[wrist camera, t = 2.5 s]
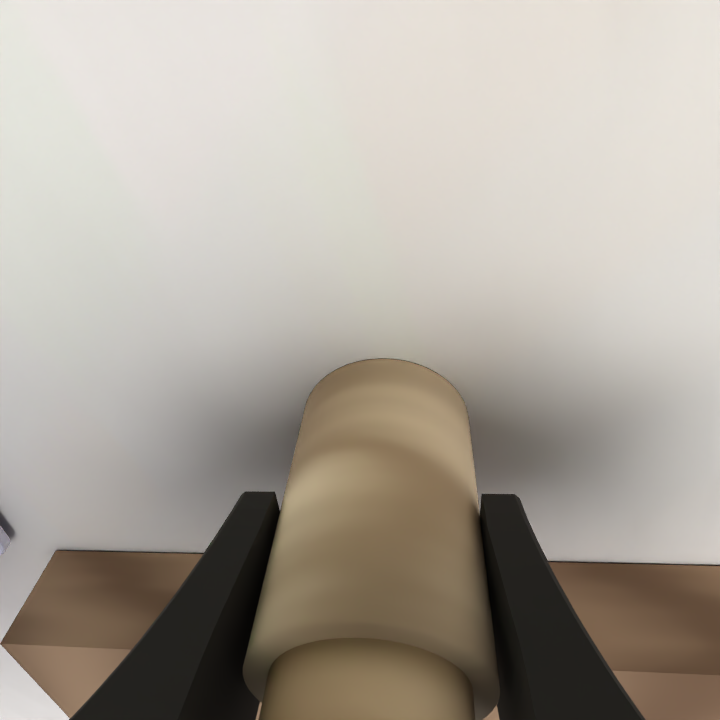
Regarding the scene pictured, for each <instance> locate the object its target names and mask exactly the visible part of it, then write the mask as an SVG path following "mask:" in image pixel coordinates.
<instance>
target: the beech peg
mask: <svg viewBox="0 0 720 720" xmlns="http://www.w3.org/2000/svg"><path fill="white" fill-rule="evenodd" d="M243 678H244V681H245V684H246V685H247V687H248V689H249V690H250V692H251V693H252V694H253V695H254V696H255V697H256V698H257V699H258V700H259V701H260V702H261V703H262V706H261V710H260V715H259V720H482V719H484V718H485V717H487V716H488V715H489V714H490V713H491V712H492V711H493V709H494V708H495V706H496V705H497V703H498V700H499V697H500V684H499V676H498V667H497V658H496V650H495V641H494V633H493V624H492V615H491V607H490V598H489V590H488V581H487V572H486V565H485V557H484V549H483V540H482V531H481V523H480V512H479V504H478V495H477V486H476V478H475V469H474V461H473V452H472V443H471V435H470V426H469V418H468V412H467V408H466V406H465V403H464V401H463V399H462V397H461V396H460V394H459V393H458V391H457V390H456V389H455V388H454V387H453V386H452V385H451V384H450V383H449V382H448V381H447V380H446V379H445V378H443V377H442V376H440V375H439V374H437V373H436V372H434V371H432V370H430V369H428V368H426V367H423V366H420V365H418V364H415V363H411V362H407V361H402V360H395V359H370V360H364V361H358V362H355V363H352V364H348V365H346V366H343V367H341V368H339V369H337V370H335V371H333V372H332V373H330V374H328V375H327V376H326V377H325V378H323V379H322V380H321V381H320V382H319V383H318V384H317V385H316V386H315V388H314V389H313V390H312V392H311V393H310V395H309V398H308V400H307V402H306V406H305V410H304V414H303V418H302V422H301V427H300V431H299V435H298V439H297V443H296V448H295V452H294V456H293V460H292V464H291V468H290V473H289V477H288V481H287V485H286V489H285V493H284V498H283V502H282V506H281V510H280V514H279V519H278V523H277V527H276V531H275V535H274V539H273V544H272V548H271V552H270V556H269V560H268V564H267V569H266V573H265V577H264V581H263V585H262V590H261V594H260V598H259V602H258V606H257V610H256V615H255V619H254V623H253V627H252V631H251V635H250V640H249V644H248V648H247V652H246V656H245V660H244V665H243Z"/></svg>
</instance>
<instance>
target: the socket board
mask: <svg viewBox="0 0 720 720" xmlns="http://www.w3.org/2000/svg"><path fill="white" fill-rule="evenodd" d="M202 555H203V554H180V553H137V552H94V551H55V553H54V555H53V556H52V558H51V560H50V561H49V563H48V565H47V566H46V568H45V570H44V571H43V573H42V575H41V576H40V578H39V580H38V581H37V583H36V585H35V586H34V588H33V590H32V591H31V593H30V595H29V596H28V598H27V600H26V601H25V603H24V605H23V606H22V608H21V610H20V611H19V613H18V615H17V617H16V618H15V620H14V622H13V623H12V625H11V627H10V628H9V630H8V632H7V633H6V635H5V637H4V638H3V640H2V642H1V643H0V644H1V645H2V646H3V647H4V648H5V649H6V651H7V652H8V653H9V654H10V655H11V656H12V657H13V658H14V659H15V660H16V661H17V662H18V663H19V664H20V666H21V667H22V668H23V669H24V670H25V671H26V672H27V673H28V674H29V675H30V676H31V677H32V678H33V679H34V680H35V682H36V683H37V684H38V685H39V686H40V687H41V688H42V689H43V690H44V691H45V692H46V693H47V694H48V695H49V696H50V698H51V699H52V700H53V701H54V702H55V703H56V704H57V705H58V706H59V707H60V708H61V709H62V710H63V711H64V713H65V714H66V715H67V716H68V717H69V718H71V717H72V716H73V715H74V714H75V713H76V712H77V711H78V710H79V709H80V708H81V707H82V705H83V704H84V703H85V702H86V701H87V700H88V699H89V698H90V697H91V696H92V695H93V694H94V693H95V691H96V690H97V689H98V688H99V687H100V686H101V685H102V684H103V682H104V681H105V680H106V679H107V678H108V677H109V676H110V674H111V673H112V672H113V671H114V670H115V669H116V668H117V666H118V665H119V664H120V663H121V662H122V661H123V659H124V658H125V657H126V656H127V655H128V653H129V652H130V651H131V650H132V649H133V647H134V646H135V645H136V644H137V643H138V641H139V640H140V639H141V638H142V636H143V635H144V634H145V632H146V631H147V630H148V629H149V627H150V626H151V625H152V623H153V622H154V621H155V620H156V618H157V617H158V616H159V614H160V613H161V612H162V611H163V609H164V608H165V607H166V605H167V604H168V603H169V601H170V600H171V599H172V598H173V596H174V595H175V593H176V592H177V591H178V589H179V588H180V587H181V585H182V584H183V582H184V581H185V579H186V578H187V577H188V575H189V574H190V572H191V571H192V570H193V568H194V567H195V565H196V564H197V562H198V561H199V560H200V558H201V557H202ZM548 563H549V565H550V567H551V569H552V571H553V572H554V574H555V576H556V578H557V580H558V582H559V583H560V585H561V587H562V589H563V591H564V592H565V594H566V596H567V598H568V599H569V601H570V603H571V605H572V607H573V608H574V610H575V612H576V614H577V615H578V617H579V619H580V620H581V622H582V624H583V625H584V627H585V629H586V630H587V632H588V634H589V635H590V637H591V638H592V640H593V642H594V643H595V645H596V646H597V648H598V650H599V651H600V653H601V654H602V656H603V658H604V659H605V661H606V662H607V664H608V665H609V667H610V668H611V670H612V671H613V673H614V674H615V676H616V678H617V679H618V681H619V682H620V684H621V685H622V686H623V688H624V689H625V691H626V692H627V694H628V695H629V697H630V698H631V700H632V701H633V702H634V704H635V705H636V707H637V708H638V710H639V711H640V712H641V714H642V715H643V717H644V718H645V719H646V720H720V566H695V565H652V564H609V563H566V562H548ZM261 706H262V703H261V702H260V704H259V708H258V712H257V716H256V720H259V715H260V710H261ZM482 720H499V714H498V708H497V705H496V706H495V708H494V709H493V711H492V712H491V713H490V714H489V715H488V716H487V717H485V718H484V719H482Z"/></svg>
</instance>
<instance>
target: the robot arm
mask: <svg viewBox="0 0 720 720" xmlns="http://www.w3.org/2000/svg"><path fill="white" fill-rule="evenodd" d="M279 514H280V510H279V506H278V502H277V498H276V494H275V492H244V493H243V494H242V495H241V496H240V498H239V500H238V501H237V503H236V504H235V506H234V508H233V509H232V511H231V512H230V514H229V516H228V517H227V519H226V520H225V522H224V524H223V525H222V527H221V528H220V530H219V531H218V533H217V534H216V536H215V537H214V539H213V540H212V542H211V543H210V545H209V546H208V548H207V549H206V551H205V552H204V554H203V555H202V557H201V558H200V560H199V561H198V562H197V564H196V565H195V567H194V568H193V570H192V571H191V572H190V574H189V575H188V577H187V578H186V579H185V581H184V582H183V584H182V585H181V587H180V588H179V589H178V591H177V592H176V593H175V595H174V596H173V598H172V599H171V600H170V601H169V603H168V604H167V605H166V607H165V608H164V609H163V611H162V612H161V613H160V614H159V616H158V617H157V618H156V620H155V621H154V622H153V623H152V625H151V626H150V627H149V629H148V630H147V631H146V632H145V634H144V635H143V636H142V638H141V639H140V640H139V641H138V643H137V644H136V645H135V646H134V647H133V649H132V650H131V651H130V652H129V653H128V655H127V656H126V657H125V658H124V659H123V661H122V662H121V663H120V664H119V665H118V666H117V668H116V669H115V670H114V671H113V672H112V673H111V674H110V676H109V677H108V678H107V679H106V680H105V681H104V682H103V684H102V685H101V686H100V687H99V688H98V689H97V690H96V691H95V693H94V694H93V695H92V696H91V697H90V698H89V699H88V700H87V701H86V702H85V703H84V704H83V705H82V707H81V708H80V709H79V710H78V711H77V712H76V713H75V714H74V715H73V716H72V717H71V718H70V719H69V720H256V716H257V712H258V708H259V704H260V701H259V700H258V699H257V698H256V697H255V696H254V695H253V694H252V693H251V692H250V690H249V689H248V687H247V685H246V684H245V681H244V678H243V665H244V660H245V656H246V652H247V648H248V644H249V640H250V635H251V631H252V627H253V623H254V619H255V615H256V610H257V606H258V602H259V598H260V594H261V590H262V585H263V581H264V577H265V573H266V569H267V564H268V560H269V556H270V552H271V548H272V544H273V539H274V535H275V531H276V527H277V523H278V519H279ZM480 523H481V531H482V540H483V549H484V557H485V565H486V572H487V581H488V590H489V598H490V607H491V615H492V624H493V633H494V641H495V650H496V658H497V667H498V676H499V684H500V697H499V700H498V703H497V708H498V714H499V720H646V719H645V718H644V717H643V715H642V714H641V712H640V711H639V710H638V708H637V707H636V705H635V704H634V702H633V701H632V700H631V698H630V697H629V695H628V694H627V692H626V691H625V689H624V688H623V686H622V685H621V684H620V682H619V681H618V679H617V678H616V676H615V674H614V673H613V671H612V670H611V668H610V667H609V665H608V664H607V662H606V661H605V659H604V658H603V656H602V654H601V653H600V651H599V650H598V648H597V646H596V645H595V643H594V642H593V640H592V638H591V637H590V635H589V634H588V632H587V630H586V629H585V627H584V625H583V624H582V622H581V620H580V619H579V617H578V615H577V614H576V612H575V610H574V608H573V607H572V605H571V603H570V601H569V599H568V598H567V596H566V594H565V592H564V591H563V589H562V587H561V585H560V583H559V582H558V580H557V578H556V576H555V574H554V572H553V571H552V569H551V567H550V565H549V563H548V561H547V559H546V557H545V555H544V553H543V551H542V549H541V547H540V545H539V543H538V541H537V539H536V536H535V534H534V532H533V530H532V528H531V525H530V523H529V521H528V519H527V516H526V514H525V511H524V509H523V506H522V504H521V501H520V498H518V497H517V496H516V495H515V494H482V497H481V509H480ZM10 542H11V541H10V539H9V537H8V535H7V534H6V533H5V531H4V530H3V529H2V527H1V526H0V555H1V554H3V553H4V552H5V551H6V549H7V548H8V546H9V545H10Z"/></svg>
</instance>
